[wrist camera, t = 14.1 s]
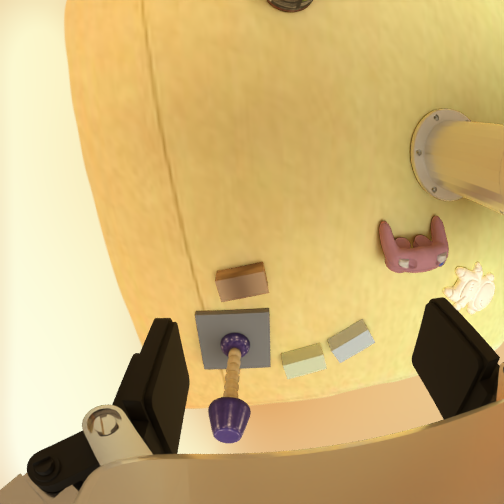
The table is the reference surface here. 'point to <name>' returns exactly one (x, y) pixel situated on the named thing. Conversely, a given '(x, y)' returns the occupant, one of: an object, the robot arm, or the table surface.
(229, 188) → the table surface
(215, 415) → the toy lamp
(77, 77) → the table surface
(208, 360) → the pad
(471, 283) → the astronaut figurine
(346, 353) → the brick
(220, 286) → the brick
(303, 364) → the brick
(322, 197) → the table surface
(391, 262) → the video game controller
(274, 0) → the supplement bottle
